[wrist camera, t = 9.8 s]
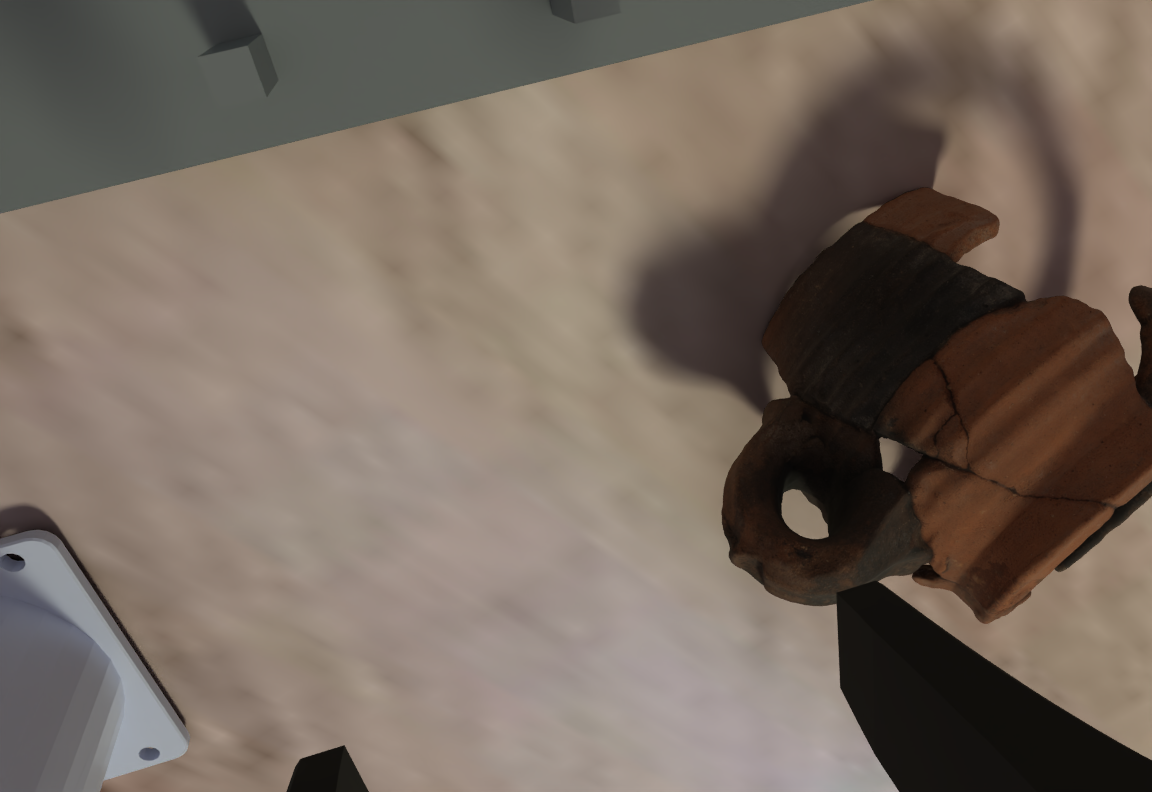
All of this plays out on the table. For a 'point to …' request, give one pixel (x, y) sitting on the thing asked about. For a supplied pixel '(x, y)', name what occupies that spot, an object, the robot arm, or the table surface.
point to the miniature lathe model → (291, 71)
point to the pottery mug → (938, 420)
